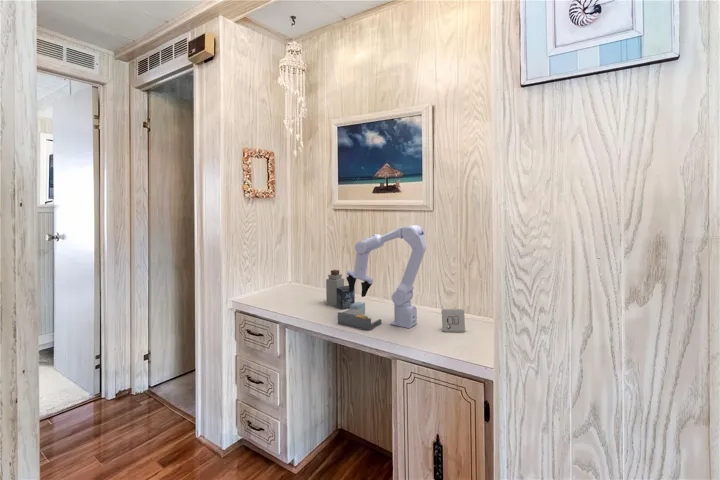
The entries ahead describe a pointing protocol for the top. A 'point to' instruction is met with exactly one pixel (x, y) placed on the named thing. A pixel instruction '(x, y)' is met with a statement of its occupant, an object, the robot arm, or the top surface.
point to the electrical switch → (453, 320)
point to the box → (345, 297)
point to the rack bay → (357, 319)
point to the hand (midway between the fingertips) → (357, 293)
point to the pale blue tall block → (358, 306)
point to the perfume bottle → (333, 287)
